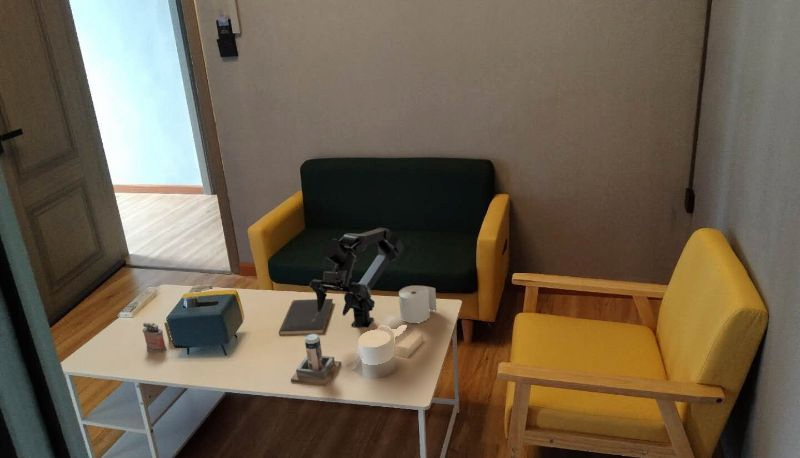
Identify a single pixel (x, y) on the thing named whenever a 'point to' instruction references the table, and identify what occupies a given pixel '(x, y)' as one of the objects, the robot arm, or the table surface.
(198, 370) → the table surface
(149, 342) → the lighter
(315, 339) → the beer can
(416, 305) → the toilet tissue
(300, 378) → the socket board
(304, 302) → the hardcover book
